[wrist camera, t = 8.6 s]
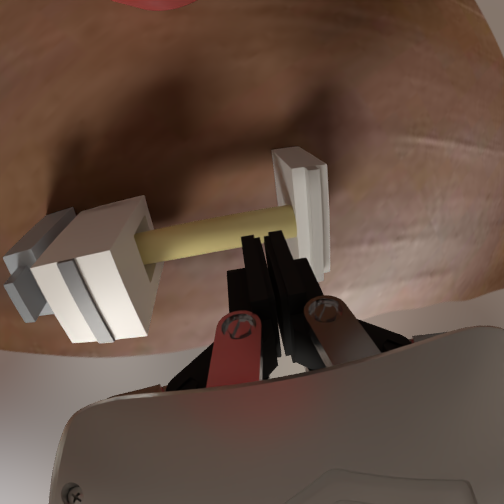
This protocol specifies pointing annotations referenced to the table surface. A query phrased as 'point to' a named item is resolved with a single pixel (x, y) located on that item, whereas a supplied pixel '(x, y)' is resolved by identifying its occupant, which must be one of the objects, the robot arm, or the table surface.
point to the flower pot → (156, 4)
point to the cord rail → (202, 230)
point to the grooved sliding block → (101, 274)
